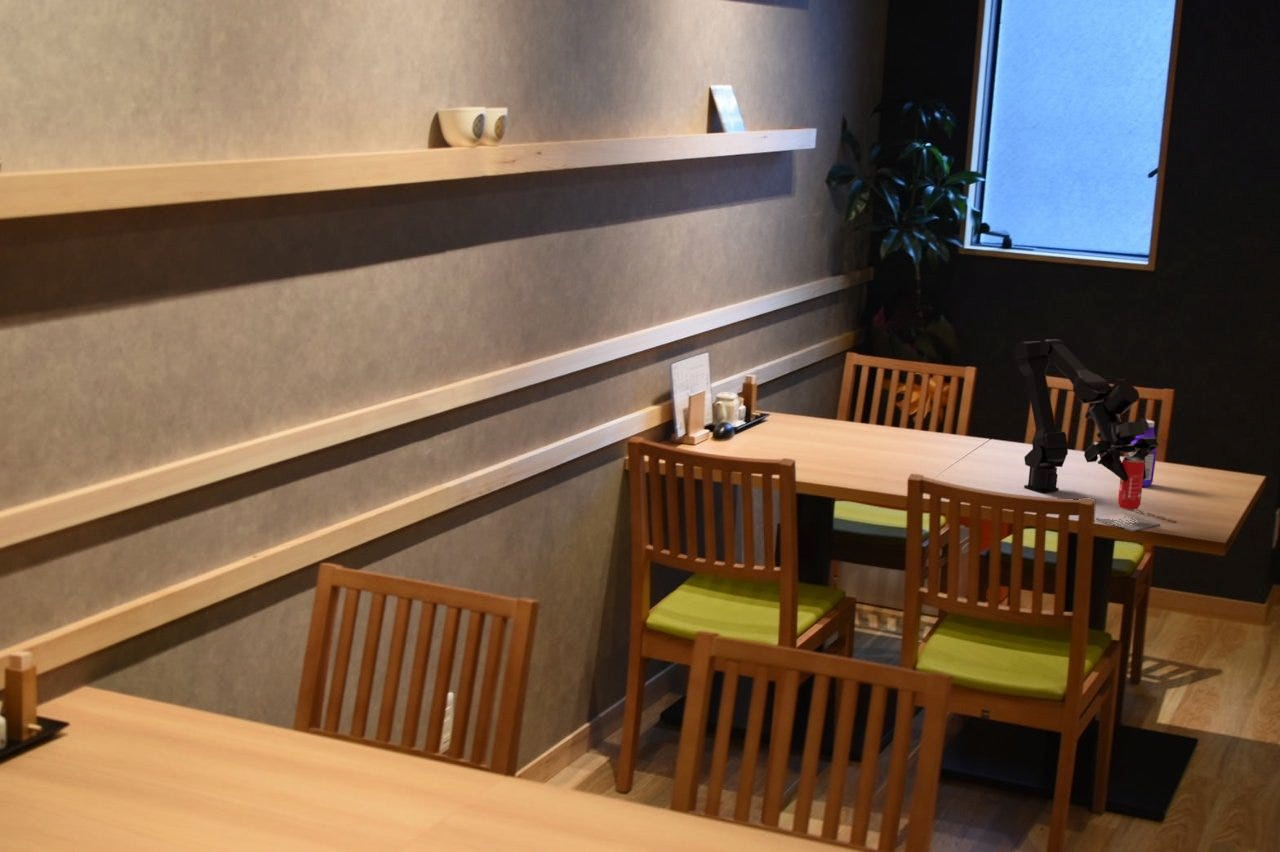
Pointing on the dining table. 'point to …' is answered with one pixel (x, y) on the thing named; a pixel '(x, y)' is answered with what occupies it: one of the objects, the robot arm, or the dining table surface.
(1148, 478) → the bottle
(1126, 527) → the mat
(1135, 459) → the beverage can
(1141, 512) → the line
